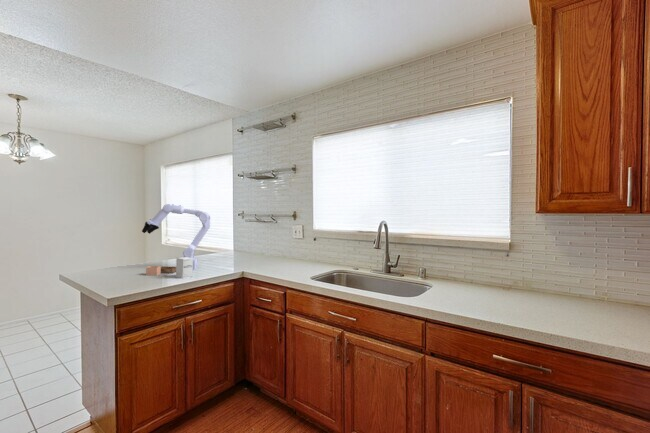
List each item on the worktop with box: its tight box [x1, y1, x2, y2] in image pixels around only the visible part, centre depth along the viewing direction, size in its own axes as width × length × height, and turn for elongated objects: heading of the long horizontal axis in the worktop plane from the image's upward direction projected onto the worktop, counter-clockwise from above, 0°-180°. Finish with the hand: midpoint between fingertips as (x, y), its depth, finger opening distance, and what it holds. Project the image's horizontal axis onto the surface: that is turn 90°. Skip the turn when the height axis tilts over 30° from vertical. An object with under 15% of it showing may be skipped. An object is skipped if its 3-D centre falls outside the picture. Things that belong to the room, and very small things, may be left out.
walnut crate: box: [161, 265, 176, 275], centre depth 211 cm, size 11×9×3 cm
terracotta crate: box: [145, 265, 162, 275], centre depth 202 cm, size 7×5×5 cm
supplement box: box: [175, 256, 194, 279], centre depth 199 cm, size 7×7×13 cm
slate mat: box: [143, 273, 169, 277], centre depth 207 cm, size 13×17×1 cm
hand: (145, 232), depth 216 cm, fingers open, 7 cm apart
